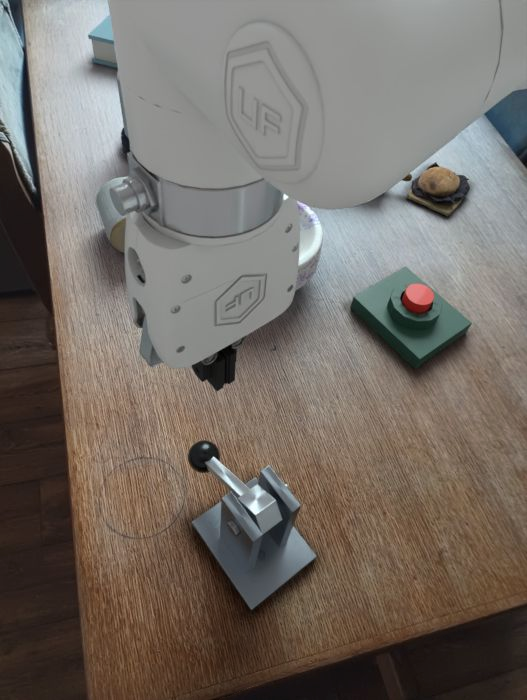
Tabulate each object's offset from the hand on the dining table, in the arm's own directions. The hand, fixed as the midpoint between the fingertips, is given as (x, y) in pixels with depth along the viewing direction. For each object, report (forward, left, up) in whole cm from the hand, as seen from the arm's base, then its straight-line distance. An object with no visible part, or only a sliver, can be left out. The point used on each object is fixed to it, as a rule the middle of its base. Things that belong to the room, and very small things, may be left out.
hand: (214, 373), depth 42 cm
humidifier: (+53, -23, -20) cm, 61 cm away
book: (+77, -41, -20) cm, 89 cm away
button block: (+3, -33, -20) cm, 39 cm away
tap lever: (-5, +1, -14) cm, 15 cm away
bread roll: (+19, -57, -20) cm, 63 cm away
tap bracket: (-8, +1, -20) cm, 22 cm away
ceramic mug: (+36, -12, -20) cm, 43 cm away
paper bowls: (+21, -22, -20) cm, 36 cm away
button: (+3, -33, -16) cm, 37 cm away
